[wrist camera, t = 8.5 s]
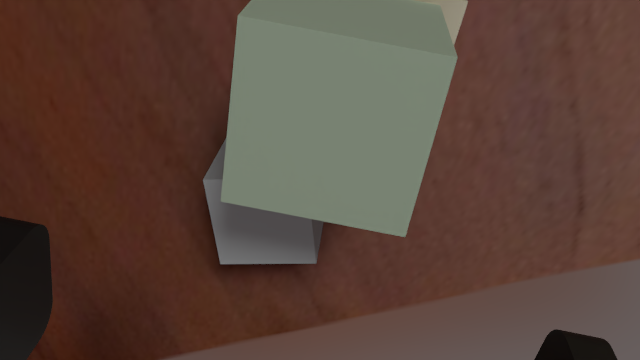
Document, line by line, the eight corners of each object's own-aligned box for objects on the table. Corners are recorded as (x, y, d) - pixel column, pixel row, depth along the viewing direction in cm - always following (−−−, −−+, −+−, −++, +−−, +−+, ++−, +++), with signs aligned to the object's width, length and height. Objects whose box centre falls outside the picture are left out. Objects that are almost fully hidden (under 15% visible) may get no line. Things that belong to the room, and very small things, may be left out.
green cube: (274, -27, 18) (237, 15, 13) (440, 5, 18) (457, 57, 13) (256, 124, 20) (220, 201, 16) (401, 152, 20) (405, 237, 16)
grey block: (241, 212, 28) (220, 264, 24) (227, 135, 26) (202, 179, 22) (325, 210, 27) (316, 263, 24) (318, 131, 25) (306, 177, 22)
